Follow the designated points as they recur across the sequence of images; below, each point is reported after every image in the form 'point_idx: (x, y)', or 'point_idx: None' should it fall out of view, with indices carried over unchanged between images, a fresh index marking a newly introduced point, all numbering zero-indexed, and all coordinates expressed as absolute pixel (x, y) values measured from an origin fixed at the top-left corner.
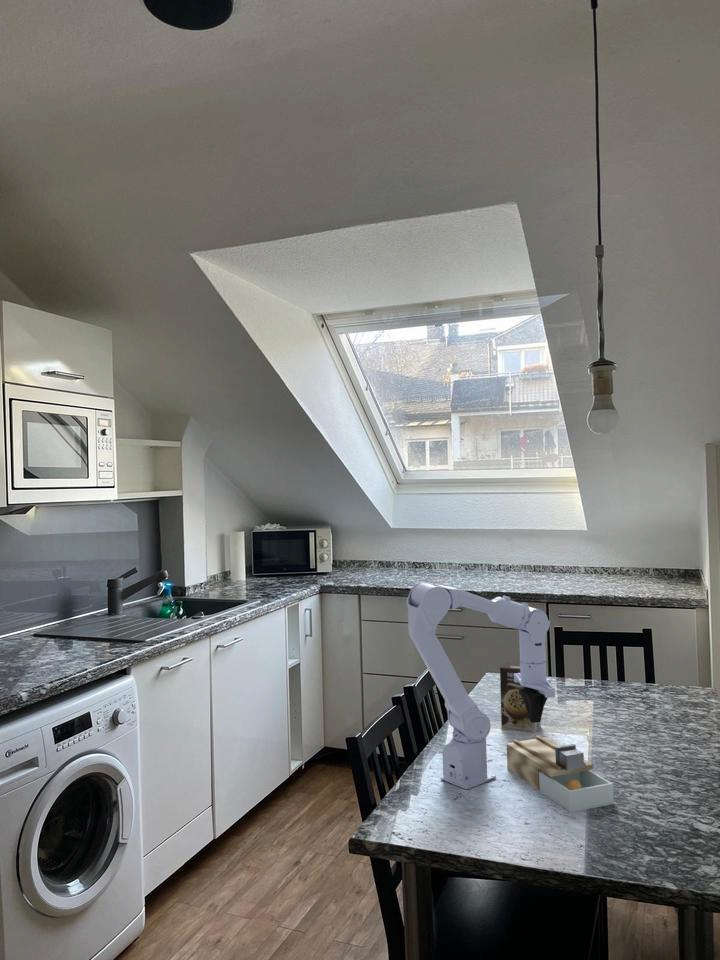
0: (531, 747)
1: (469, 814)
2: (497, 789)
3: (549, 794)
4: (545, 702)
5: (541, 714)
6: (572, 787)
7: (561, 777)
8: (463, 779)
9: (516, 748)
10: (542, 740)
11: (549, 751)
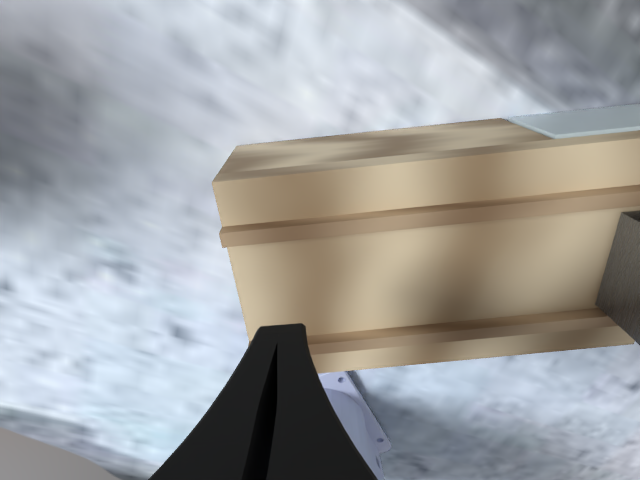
0: (345, 309)
1: (515, 465)
2: (416, 381)
3: None
4: (357, 450)
5: (311, 360)
6: None
7: None
8: (382, 469)
9: (334, 366)
10: (294, 238)
11: (429, 255)
